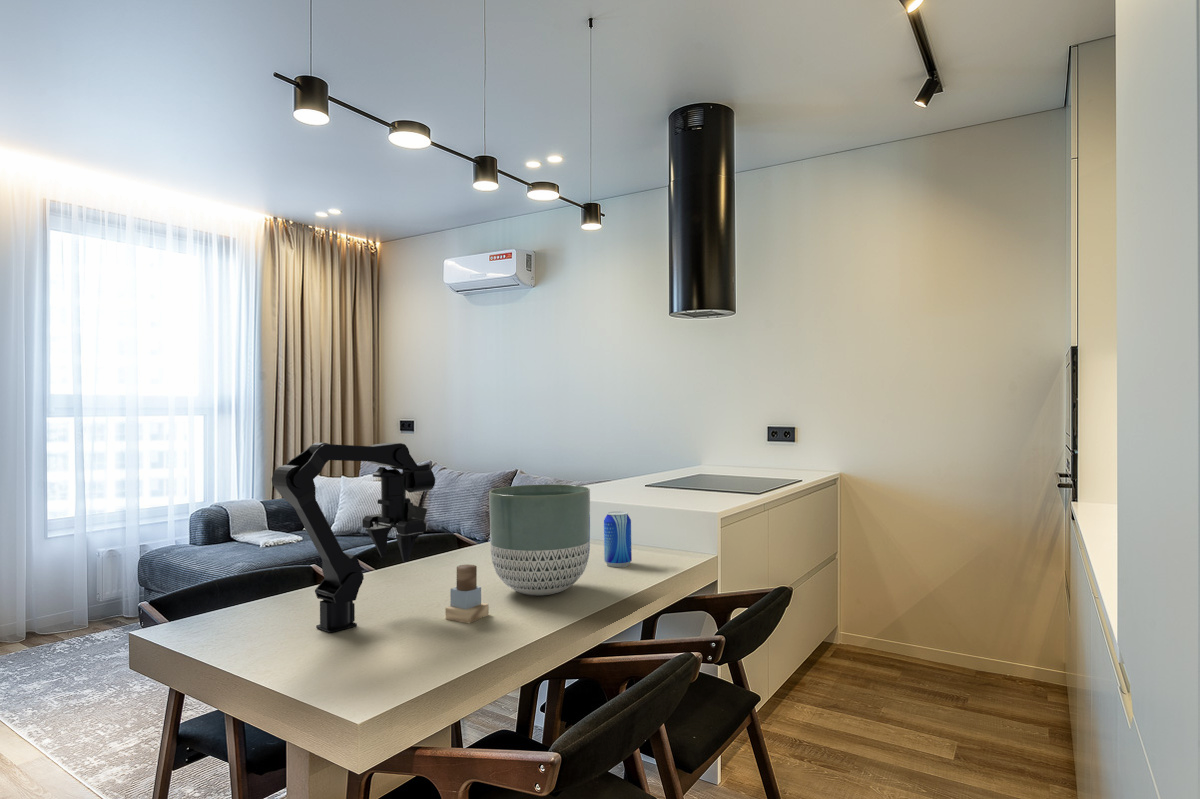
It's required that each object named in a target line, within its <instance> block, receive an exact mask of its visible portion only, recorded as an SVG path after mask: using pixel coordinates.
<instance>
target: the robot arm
mask: <svg viewBox="0 0 1200 799" xmlns="http://www.w3.org/2000/svg"><path fill="white" fill-rule="evenodd" d="M329 461H340V462H341V461H345V462H346V461H349V462H367V463H371V464H375V465H378V466H379V467H378V468H377V470H376V471H374V473H373V474H372V477H373V478H380V491H381V492H380V494H381V495H380V498H379V499H377V505H381V510H380V511H381V513H375V514H374V513H373V514H368V515H364V517H363V519H362V520H361V521H362V523H361V524H362V528H364V529H365V532H367V534H368V536H369V537H370V539H371V540H372V542H373V544H374V546H375V549H376V550H377V552H378V554H379V555H380V558H385V557H387V550H388V549H387V548H388V538H389V537H388V535H389V533H390V531H391V530H392V529H393V528H395V531H396V532H397V534H395V537H396V541H397V545H398V549H399V551H400V556H401V559H402V562H403V563H406V562H408V561H409V559H410V556H411V554H412V550H413V547H414V543H415V542H416V540H417V538H418V537H420V536H421V535H424V532H427V531H428V528H427V527H428V525H427V524H428V523H427V521H425V520H426V517H427V513H428V508H424V507H423V506H418V505H415V504H414V503H413V502H411V500H412V499H410V497H407V493H417V492H418V493H419V492H420V493H421V492H428V491H432V490H433V488H434V487H435V485H436V477H435V474H434V472H433V470H432V469H431V468H430V465H431V464H430V463H420V464H418V463H416V461H415V460H414V458H413V457H412V455H411V454H410V450H409V448H408V447H407V445H406V444H405V443H402V442H399V443H397V442H383V443H382V442H381V443H377V444H371V445H354V444H353V445H351V444H350V445H349V444H333V443H332V444H331V443H327V442H314V443H312V444H311V445H309V446H308V447H307V449H305V450H304V451H302V452H301V453H300V454H298V455H296V456H295V457H293V458H292V459H290V460H289V461H288V462H286V464H283V465H281V466H278V467H277V468H276V469H275V470H274V472H273V473H272V477H271V483H272V486H273V488H275V490H276V491H277V492H278V494H279V495H281V497H282V498H283V499H284V500H285V501H286V502H287V503H289V504H290V505H291V506H292V507H293V508H294V510H295V512H296V514H297V516H298V517H299V520H300V521H301V523H302V525H303V527H304V529H305V531H306V533H307V535H308V536H309V538H310V539H311V542H312V544H313V545H314V547H315V549H316V551H317V553H318V555H319V557H320V558H321V563H322V564H321V566H322V567H321V569H322V571H321V572H322V575H323V578H324V579H322V580H321V582H320V583H319V584H318V585H317V587H316V588H315V590H314V593H315V596H316V598H317V599H320V601H319V624H317V625H316V628H317V629H319V630H321V631H325V632H327V633H336V632H339V631H343V630H346V629H351V628H353V627H357V625H358V623H356V622H355V621H356V620H355V618H356V615H355V613H356V612H355V611H356V609H355V603H354V601H356V600H357V597H358V594H359V590H360V588H361V586H362V584H363V580H365V578H364V576H365V575H364V573H363V571H364V570H365V569H364V568H363V566H361V564H360V561H359V558H358V556H357V555H356V554H351V553H347V552H344V551H343V549H342V546H341V545H340V543H339V542H338V539H337V537H336V535H335V534H334V532H333V530H332V528H331V526H330V524H329V522H328V520H327V518H326V516H325V515H324V512H323V511H322V508H321V507H320V505H319V503H318V501H317V498H316V497H317V495H316V494H317V493H316V492H317V491H316V489H317V488H316V484H315V481H314V480H315V478H316V477H317V476H319V474H321V472H322V470H323V469H324V467H325V466H326V464H327V463H328V462H329ZM386 467H390V468H391V469H387V468H386ZM401 470H402V472H401Z"/></svg>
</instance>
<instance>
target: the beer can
mask: <svg viewBox="0 0 1200 799" xmlns="http://www.w3.org/2000/svg"><path fill="white" fill-rule="evenodd" d="M603 539H604V540H603V542H604V543H603V547H604V548H603V549H604V551H603V552H604V555H603V556H604V558H603V559H604V562H605V563H606V566H608V567H611V568H625V567H628V566H630V563H631V562H632V558H633V557H632V555H633V554H632V520H631V518H630V516H629V512H627V511H621V510H620V511H618V510H617V511H609V512H606V516H605V517H604V520H603Z"/></svg>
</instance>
